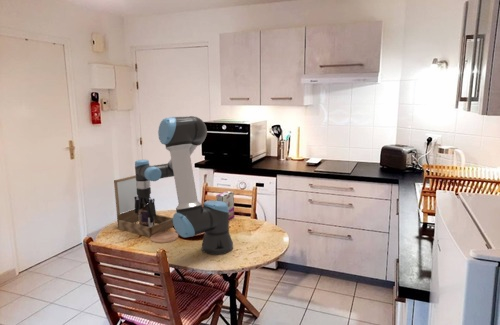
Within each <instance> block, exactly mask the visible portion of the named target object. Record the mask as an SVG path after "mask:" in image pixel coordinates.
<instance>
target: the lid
mask: <svg viewBox="0 0 500 325" xmlns="http://www.w3.org/2000/svg"><path fill="white" fill-rule="evenodd" d="M113 184H114V197H115V210H116V216H117V215H120V214H122V213H125V212H127V211H130V210H133V209H135V199H134V197H136V196H138V195H137V187H136V174H135V175H131V176H130V175H129V176H127V177H123V178H119V179H115V180H113Z"/></svg>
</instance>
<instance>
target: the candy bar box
mask: <svg viewBox="0 0 500 325" xmlns="http://www.w3.org/2000/svg"><path fill="white" fill-rule="evenodd" d="M234 195H235V194H234V191H230V190H227V191H223V192H220V193H219V194H216V201H221V202H224V203H226V204H227V205H228V210H229V221H230V220H232V219H234V218H235V200H234Z"/></svg>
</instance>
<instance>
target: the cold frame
mask: <svg viewBox="0 0 500 325" xmlns="http://www.w3.org/2000/svg"><path fill="white" fill-rule="evenodd" d="M144 206H145V205H144ZM144 206H143V207H144ZM116 220H117V229H119V230H122V231H126V232H130V233H133V234H137V235H139V236H140V235H141V236H143V237H144V236H145V237H148V238H151V236H152V235H153V234H155V233H158V232H163V231H169V230H170V229H172V228H174V227H173V217H169V216H165V215H160V214H156V216H154V225H155V226H152V227H147V226H143V225H139V220H138V215H137V213H135V209H132V210H129V211H126V212H123V213H120V215H117V214H116ZM137 223H138V224H137Z"/></svg>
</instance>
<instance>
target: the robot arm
mask: <svg viewBox="0 0 500 325" xmlns="http://www.w3.org/2000/svg"><path fill="white" fill-rule="evenodd" d="M157 134H158V140H159V142H160V143H161V144H162V145H165V149H166V150H167V151H168V152H169V153H170V154H169V155H170V159H169V161H168V162H167V163H162V164H154V165H150V161H149V160H148V159H137V160H135V162H134V173H135V175H136V187H137V195H138V196H136V197H134V199H135V213H137V215H138V220H139V214H138V213H139V210H140V209H142V207H143V206H144V205H145V206H146V208H147V211H148V215H149V217H148V223H149V227H152V226H153V222H154V220H153V217H154V216H156V215H157V212H156V211H157V210H156V205H155V198H151V194H152V190H151V182H157V181H159V180H160V179H161V180H162V179H166V178H170V177H171V178H172V177H174V183H175V184H174V185H175V189H176V195H177V201H178V205H176V208H175V211H176V212H175V213H174V214H173V216H172V218H173V225H174V227H173V228H174V230H175V232H176V233H178V236H180V237H182V238H184V239H185V238H190V237H194V236H197V235H200V234H203V233H204V235H203V239H202V241H201V250H202V252H203V253H205V254H209V255H222V254H226V253H229V252H231V251H232V250H233V249H234V242H233V239H232V237H231V234H230V220H229V210H228V205H227V204H226V203H224V202H221V201H217V200H206V201H204V202H203V204H202V202H200V201H199V200H198V195H197V188H196V183H195V177H194V176H195V175H194V172H193V171H194V170H193V166H192V158H191V155H192V154H193V153H194V152H195V150H196V149H197V148H198V146H201V145H202V144H203V142H205V139H206V137H207V135H208V129H207V125H206V124H205V122H204V121H203V119H201V118H199V117H197V116H193V115H191V116H170V117H165V118H163V119H162V120H161V121H160V123H159V125H158V130H157ZM141 220H142V211H141ZM138 224H139V225H142V224H140V223H139V222H138Z"/></svg>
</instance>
